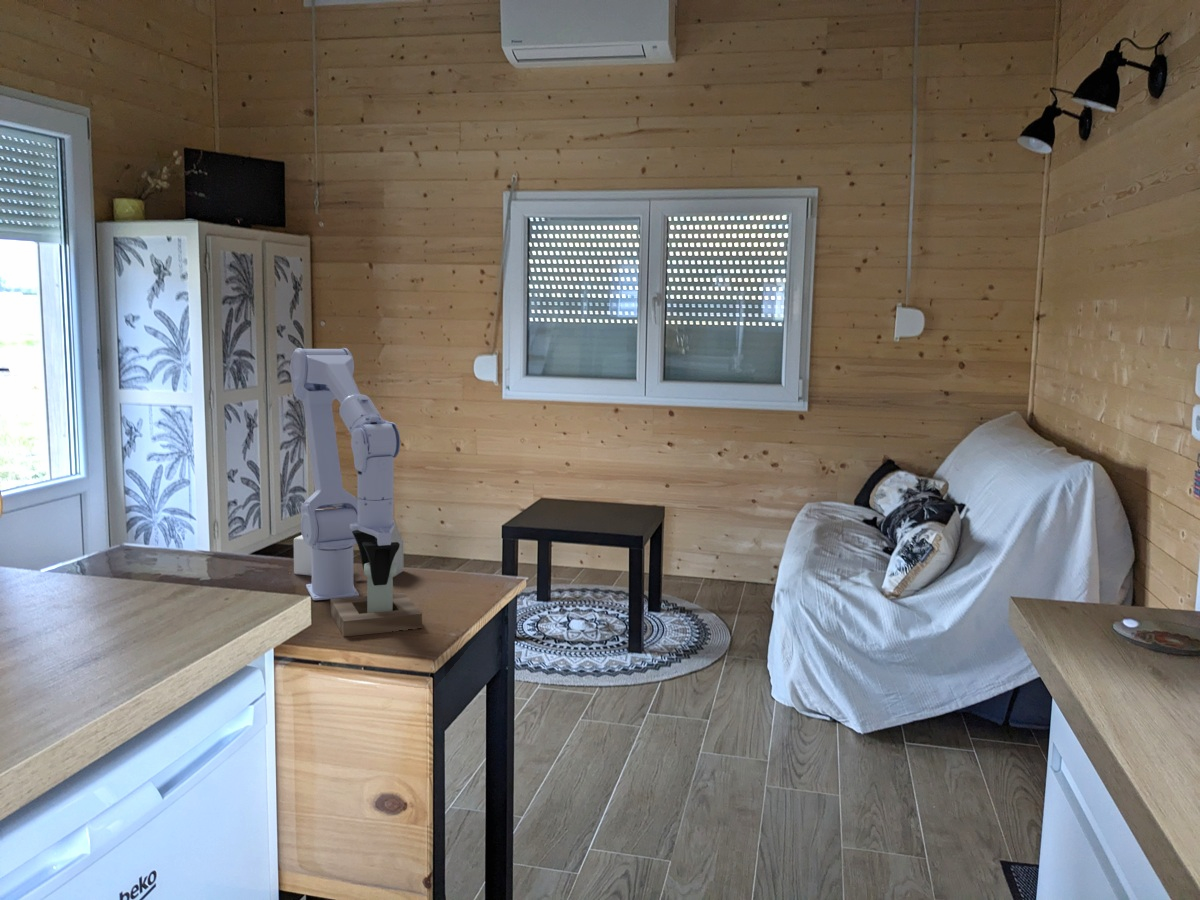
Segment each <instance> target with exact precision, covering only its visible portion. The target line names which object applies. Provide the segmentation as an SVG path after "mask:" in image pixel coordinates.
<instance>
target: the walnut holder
mask: <svg viewBox="0 0 1200 900" xmlns="http://www.w3.org/2000/svg"><path fill="white" fill-rule="evenodd" d="M330 615H331V617H332V619H333V621H334V622H335V624H336V626H337V627H338V629H339V631H340V633H341V635H342V637H351V636H352V637H354V636H361V635H363V636H364V635H372V634H382V633H392V631H393V632H400V631H399V630H403V631H409V630H408V629H413V630H418V629H417V628H422V629H423V612H421V611H420V609H419V608H418V607H417V606H416V605H415V603H414V602H413V601H412V600H411V599H410V598H409V596H408V595H407V594H406V593H405V592H400V593H399V592H397V593H393V611H385V612H374V613H367V595H365V596H358V597H348V598H337V599H330Z"/></svg>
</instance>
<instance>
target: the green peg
mask: <svg viewBox="0 0 1200 900" xmlns="http://www.w3.org/2000/svg"><path fill="white" fill-rule="evenodd" d="M363 575H364V576H366V578H367V579H366V580H367V581H366V584H367V587H366V591H367V593H366V596H367V613H374V612H385V611H393V594H394V593H393V590H394V589H393V588H394V585H393V584H394V581H393V580H394V579H393V578H394V577H395V576H394V575H396V563H394V562H392V565H391V569H390V574H389V578H388V582H387V584H386V585H376V586H374V585H373V582H372V577H371V570H370V564H369V562H368V563H365V564H364V570H363ZM393 576H394V577H393ZM396 576H397V575H396Z"/></svg>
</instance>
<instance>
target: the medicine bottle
mask: <svg viewBox="0 0 1200 900" xmlns="http://www.w3.org/2000/svg"><path fill="white" fill-rule="evenodd" d="M324 509H325V508H320V509H316V510H324ZM311 554H312V547H311V546H309V545H308V544H307V543H306V542H305V541H304V539H303V537H302V534H301V535H298V536H296V537H294V538H293V574H295V575H300V576H310V577H312V571H311Z"/></svg>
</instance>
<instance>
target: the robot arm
mask: <svg viewBox="0 0 1200 900" xmlns="http://www.w3.org/2000/svg"><path fill="white" fill-rule="evenodd" d="M354 371H355V362H354V357H353V354H352V352H350V350H349V349H348V348H346V347H342V348H301V347H297V348H295V350H294V351H293V352H292V354H291V357H290V364H289V373H290V381H291V387H292V391H293V396H294V397H295V398H296V399H298V400H300V401H302V407H303V412H304V418H305V426H306V433H307V440H308V441H307V442H308V449H309V456H310V457H309V458H310V463H311V464H310V465H311V471H312V472H311V473H312V479H313V485H314V492H313V494H311V495H310V496H309V497H308V498H307V499H305V501H304V502H303V503H302V505H301V507H300V513H301V514H300V515H301V520H300V532H301V535H302V537H303V539H304V541H305V542H306V543H307V544H308V545H309V546H311V547H312V554H311V571H312V576H311V583H306V584H305V587H306V590H307V591H308V593H309V595H310V598H311V599H312V600H313V601H322V600H323V601H324V600H331V599H339V598H350V597H360V593H359V592H358V590H357V589H356V587H355V585H354V546H357V547H358V551H359V555H360V561H361V565H362V569H363V571H364V564H365V563H368V562H369V564H370V570H371V577H372V582H373V585H374V586H376V585H386V584H387V582H388V578H389V574H390V569H391V565H392V562H393V559H394V556H395V554H396V553H397V551H398V549H399V546H400V544H399V543H398V542H391V533H392V531H393V529H394V522H393V521H394V482H395V481H394V479H395V478H394V467H395V466H394V465H395V464H394V462H395V461H394V458H397V457H398V456H399V454H400V450H401V435H400V431H399V428H398V427H397V424H396V423H395V422H392V421H389V420H388V419H383V417H382V416H381V413H380V412H379V410H378V409H377V407H376V405H375V404H374V402H373V401H372V399H371V398H370V397H369V396H368V395H366V394H363V393H361V392H360V390H359V387H358V385H357V383H356V381H355V379H354ZM334 400H337V401H338V402H339V404H340V406H339V409H338V413H339V414H338V415H339V416H340V418H341V420H342V422H343V424H344V425H345V427H346V429H347V430H348V433H349V435H350V436H351V439H350V446H351V451H352V454H353V466H354V469H355V470H357V476H356V477H357V487H356V488H357V490H356V491H357V497H356V496H354V495H353V494H352V493H350V492H348V491H347V490H346V489H344V487H343V486H344V485H343V479H342V478H343V477H342V472H341V464H340V456H339V451H338V442H337V441H338V440H337V435H336V427H335V419H334V412H333V402H334ZM316 509H324V510H316Z"/></svg>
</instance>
